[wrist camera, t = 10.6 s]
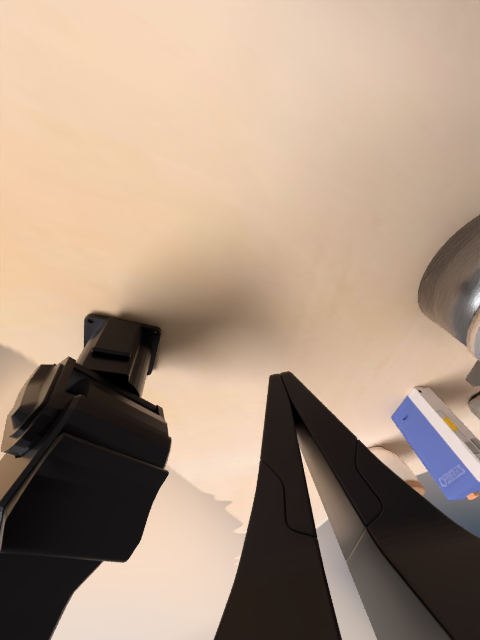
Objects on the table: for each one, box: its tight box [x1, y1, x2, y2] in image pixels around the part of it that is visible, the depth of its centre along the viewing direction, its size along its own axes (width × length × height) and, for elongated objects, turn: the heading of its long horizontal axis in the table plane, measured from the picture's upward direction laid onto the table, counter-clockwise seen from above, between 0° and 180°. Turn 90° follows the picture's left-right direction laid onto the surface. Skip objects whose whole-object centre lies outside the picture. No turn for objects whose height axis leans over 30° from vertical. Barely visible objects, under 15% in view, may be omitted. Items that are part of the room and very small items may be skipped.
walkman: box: [391, 387, 480, 501], centre depth 33 cm, size 8×3×12 cm, turn 176°
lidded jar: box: [368, 447, 425, 495], centre depth 44 cm, size 11×11×9 cm
